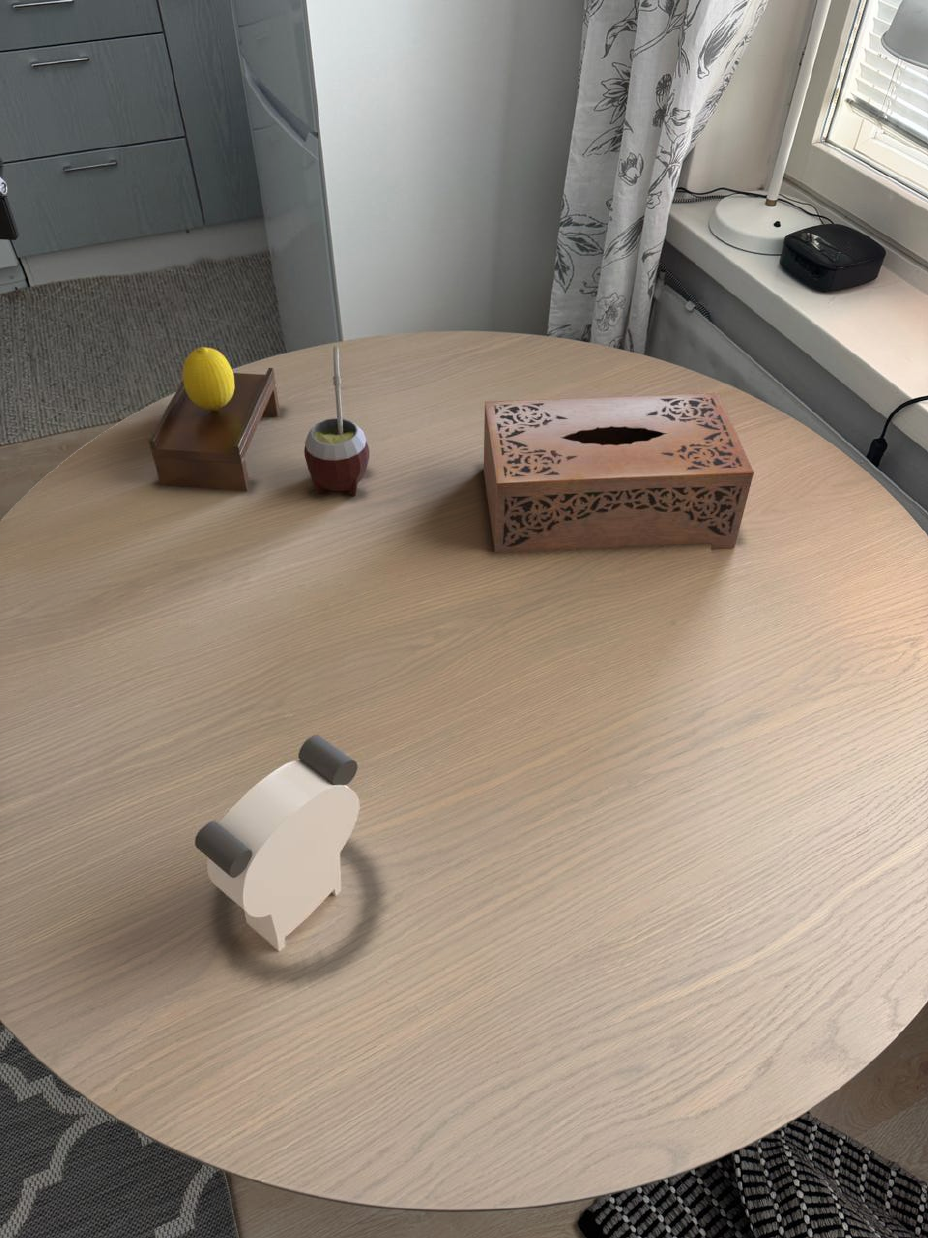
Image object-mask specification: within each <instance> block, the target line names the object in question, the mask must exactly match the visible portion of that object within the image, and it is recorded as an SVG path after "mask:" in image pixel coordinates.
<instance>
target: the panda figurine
mask: <svg viewBox="0 0 928 1238" xmlns="http://www.w3.org/2000/svg"><path fill="white" fill-rule="evenodd" d="M358 767H359V765H358V763H357V761H356V760H354V759H353V758H351V757H350V756H349V755H347V754H346V753H345V752H343V751H342V750H340V749H339V748H338V747H336V746H335V745H333V744H332V743H331V742H329V741H328V740H326V739H325V738H324V737H323V736H321V735H319V734H315V735H311V736H310V737H308V738H307V739H305V741H304V742H303V744H302V745H301V747H300V749H299V751H298V759H296V760H292V761H290V762H287V763H285V764H283V765H281V766H280V767H278V768H277V769H275V770H273V771H272V772H271V773H269V774H267V775H266V776H265V777H264V778H262V779H261V780H259V782H257V783H256V784H255V785H254V786H253V787H251V788H250V789H249V790H248V791H247V792H246V793H245V794H244V795H243V796H242V797H241V798H240V799H239V800H237V801H236V803H235V804H234V805H233V806H232V807H231V808H230V809H229V811H228V812H227V813H226V814H225V815H224V817H222V819H221V821H219V822H220V823H218V821H216V820H211V821H209V822H208V823H206V824H205V825H203V827H201V828H200V829H199V830H198V832H197V833H196V835H195V837H194V846H195V847H196V848H197V850H198V851H200V852H201V853H202V854H203V855H204V856H206V871H207V876H208V878H209V880H210V882H211V883H212V884H213V885H215V886H216V887H217V888H218V889H219V890H220V891H221V892H222V893H224V894H225V895H226V896H227V897H228V898H229V899H231V901H233V902H234V903H235V904H236V905H238V907H240V908H241V909H242V910H243V912H244V919H245V923H246V924H247V925H248V926H249V927H251V928H252V930H253V931H255V932H256V933H257V934H258V935H260V936H261V937H262V938H263V939H264V940H265V941H266V942H268V943H269V944H270V945H271V946H272V947H273V948H275V949H276V950H277V951H278V952H281V951H282V950H283V949H284V948H285V947H286V938H287V936H289V935H290V934H291V933H292V932H293V931H294V930H296V928H297V927H299V926H300V925H301V924H302V923H304V922H305V920H306V919H307V918H309V917H310V915H312V914H313V912H315V910H316V909H318V907H320V905H321V904H322V903H323V902H324V901H325V900H326V899H327V898H328V896H329V895H331V893H332V894H333V895H334V896H335V897H336V896H338V895H339V894H340V893H341V892H342V873H341V872H342V871H341V852H342V851H343V849H344V847H345V846H346V844H347V842H348V841H349V838H350V836H351V834H352V833H353V830H354V828H355V825H356V823H357V819H358V817H359V813H360V810H361V809H360V807H361V806H360V805H361V804H360V798H359V797H358V794H357V793H356V792H355V791H354V790H353V789H352V788H350V787H349V786H347V785H348V784H349V783H350V782H352V780H353V779H354V778H355V776H356V774H357V771H358Z"/></svg>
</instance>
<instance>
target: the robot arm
mask: <svg viewBox="0 0 928 1238" xmlns="http://www.w3.org/2000/svg"><path fill="white" fill-rule="evenodd" d="M4 167H5V166H4V162H3V160H2V158H1V157H0V240H4V241H5V240H6V241H16V240H18V239H19V237H20V233H19V230H18V227H17V226H18V225H17V223H16V219H15V216H14V214H13V211H12V208H11V205H10V202H9V199H8V196H7V193H8V185H7V182H6V181H5V180H4V179H3V177H4V176H3V174H4Z"/></svg>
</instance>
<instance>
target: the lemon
mask: <svg viewBox="0 0 928 1238" xmlns="http://www.w3.org/2000/svg"><path fill="white" fill-rule="evenodd" d="M233 373H234V372H233V369H232V366H231V364H230V362H229V361H228V359H227V358H226V356H225V355H224V354H223V353H221V352H220V351H219V350H216V349H215V348H212V347H205V346H199V348H197V349H194V350H193V351H191V352H190V353H189V354H188V355H187V357H186V358H185V360H184V362H183V367H182V380H183V383H184V387H185V390H186V392H187V395H188V396H189V398H190V399H191V400H192V401H193V402H194V403H195V404H196V405H197V406H199V407H201V408H204V409H208V410H212V411H217V410H218V409H219V408H221V407H223V406H225V405H226V404H227V403H228V402H229V401H230V399H231V398H232V395H233V392H234V375H233Z"/></svg>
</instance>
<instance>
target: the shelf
mask: <svg viewBox="0 0 928 1238" xmlns="http://www.w3.org/2000/svg"><path fill="white" fill-rule="evenodd" d="M274 370H275V369H274V368H273V367H268V368H267V370H266V372H265V374H260V373H243V372H242V373H241V372H233V375H234V392H233V395H232V398H231V399H230V401H229V402H228V403H227V404H226V405H225V406H223V407H221V408H219V409H218V410H217V411H212V410H208V409H204V408H201V407H199V406H197V405H196V404H195V403H194V402H193V401H192V400H191V399H190V398H189V396H188V395H187V392H186V390H185V387H184V383H183V379H182V380H181V382H180V384H179V386H178V388H177V389H176V390H175V393H174V395H173V396H172V398H171V400H170V402H169V403H168V405H167V407H166V409H165V410H164V412H163V414H162V416H161V418H160V420H159V421H158V424H157V425H156V427H155V428H154V431H153V432H152V434H151V436H150V438H149V440H148V443H149V447H150V452H151V455H152V458H153V462H154V466H155V469H156V473H157V477H158V480H159V485H160V487H161V486H162V487H176V488H190V489H192V488H193V489H208V490H223V491H236V492H248V489H249V488H250V481H249V475H248V469H247V464H246V461H245V460H246V459H245V457H246V454H247V451H248V449H249V447H250V444H251V442H252V440H253V438H254V435H255V433H256V430H257V428H258V427H259V423H260V421H261V419H262V417H277V418H278V417H279V416H280V413H281V409H280V403H279V396H278V389H277V381H276V376H275V371H274Z"/></svg>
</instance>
